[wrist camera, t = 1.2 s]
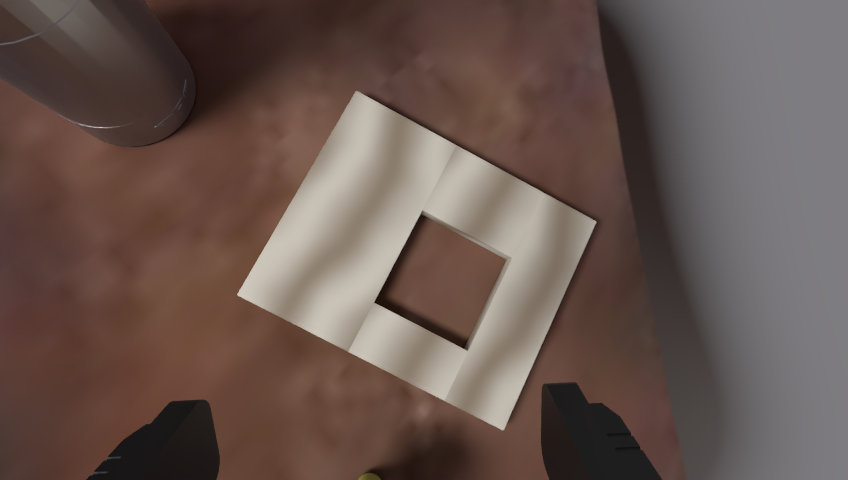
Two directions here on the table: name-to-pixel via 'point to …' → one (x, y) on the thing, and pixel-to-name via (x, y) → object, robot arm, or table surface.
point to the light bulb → (369, 477)
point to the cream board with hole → (383, 241)
